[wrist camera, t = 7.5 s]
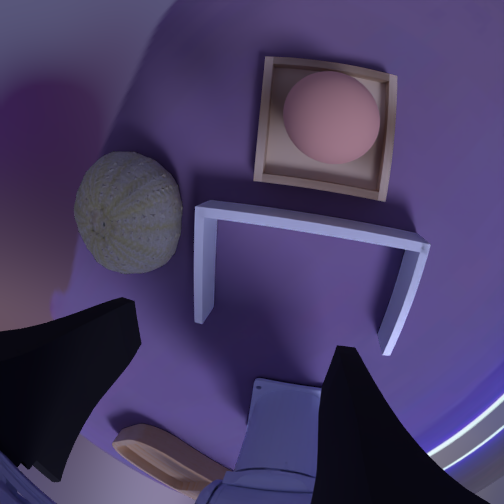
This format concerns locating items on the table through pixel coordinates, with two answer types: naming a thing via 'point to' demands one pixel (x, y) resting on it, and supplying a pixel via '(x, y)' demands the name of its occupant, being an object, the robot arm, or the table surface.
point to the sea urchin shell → (129, 212)
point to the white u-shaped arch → (314, 224)
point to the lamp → (168, 459)
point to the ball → (331, 117)
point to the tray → (300, 165)
